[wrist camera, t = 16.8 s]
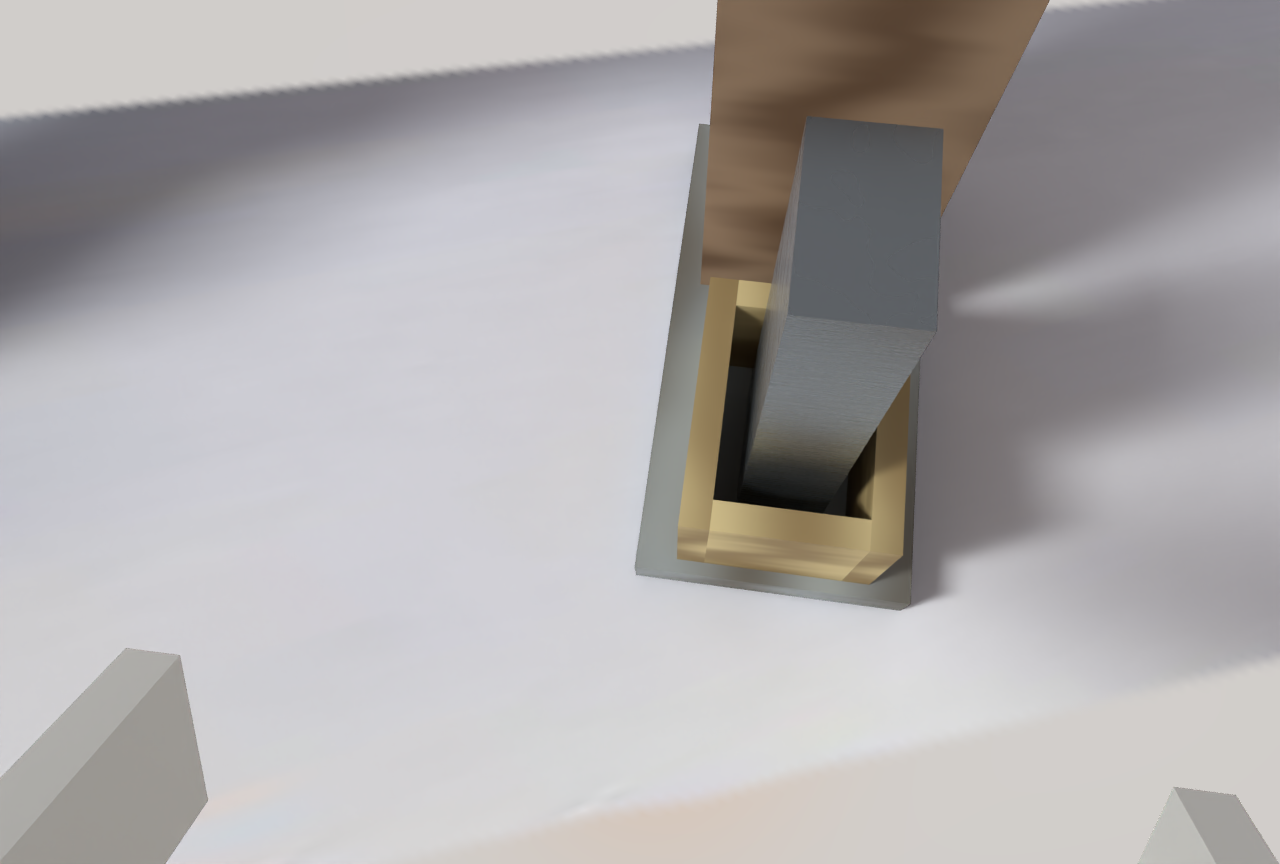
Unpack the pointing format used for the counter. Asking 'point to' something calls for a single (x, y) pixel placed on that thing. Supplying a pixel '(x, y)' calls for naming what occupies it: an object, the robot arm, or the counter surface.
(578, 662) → the counter surface
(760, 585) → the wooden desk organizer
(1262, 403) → the counter surface
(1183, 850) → the robot arm
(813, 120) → the grey block
